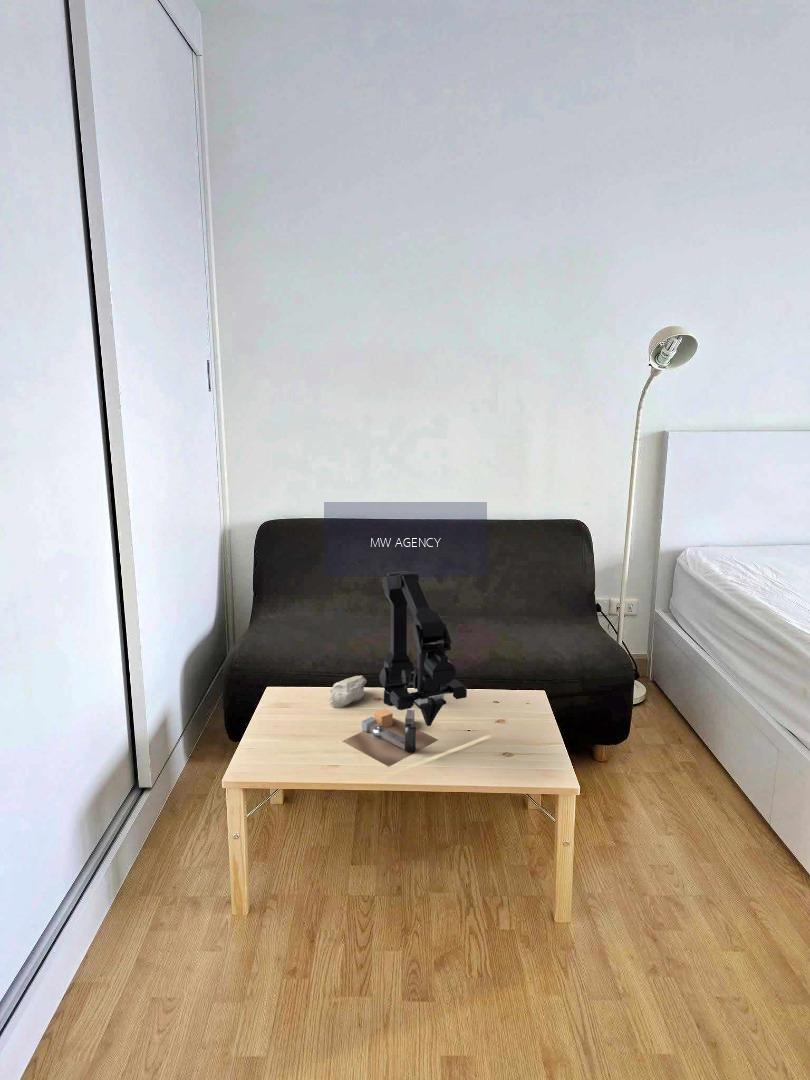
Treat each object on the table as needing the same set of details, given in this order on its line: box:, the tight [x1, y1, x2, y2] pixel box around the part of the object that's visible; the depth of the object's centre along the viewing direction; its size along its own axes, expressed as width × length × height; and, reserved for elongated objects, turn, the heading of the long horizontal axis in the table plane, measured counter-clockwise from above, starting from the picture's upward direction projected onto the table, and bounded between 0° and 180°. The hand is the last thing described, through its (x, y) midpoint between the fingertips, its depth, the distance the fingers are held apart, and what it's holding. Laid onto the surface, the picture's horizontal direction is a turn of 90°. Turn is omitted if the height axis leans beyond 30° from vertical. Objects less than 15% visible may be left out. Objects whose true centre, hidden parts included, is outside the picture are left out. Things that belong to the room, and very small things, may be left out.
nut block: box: [373, 708, 394, 727], centre depth 195 cm, size 4×4×4 cm
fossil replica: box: [328, 675, 368, 709], centre depth 209 cm, size 12×8×10 cm
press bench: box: [342, 709, 439, 768], centre depth 188 cm, size 20×17×4 cm
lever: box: [361, 716, 417, 752], centre depth 187 cm, size 4×17×6 cm, turn 46°
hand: (428, 725), depth 183 cm, fingers closed
